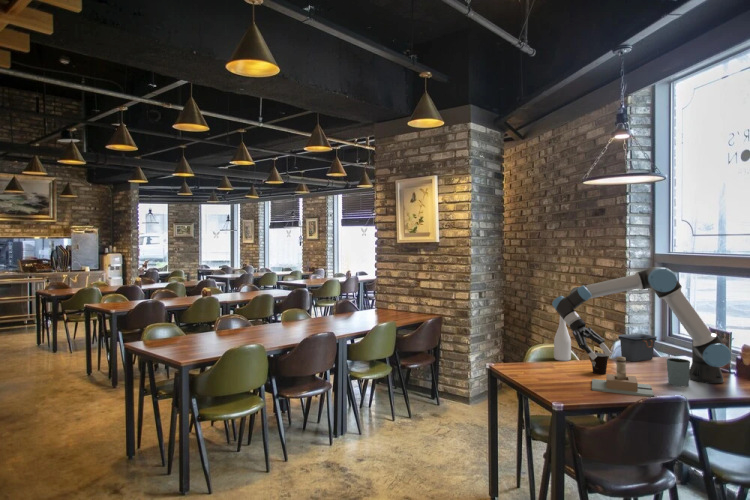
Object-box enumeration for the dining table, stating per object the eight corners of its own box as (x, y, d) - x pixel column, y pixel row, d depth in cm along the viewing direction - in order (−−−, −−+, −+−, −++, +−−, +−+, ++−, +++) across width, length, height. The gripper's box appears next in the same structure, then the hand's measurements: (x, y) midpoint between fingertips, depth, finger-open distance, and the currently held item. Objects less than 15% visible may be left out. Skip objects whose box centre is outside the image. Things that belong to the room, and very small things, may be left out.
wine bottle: (571, 361, 294) (571, 311, 293) (554, 360, 297) (554, 310, 296) (570, 358, 303) (570, 309, 302) (553, 357, 306) (554, 308, 305)
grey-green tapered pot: (678, 387, 240) (678, 363, 240) (661, 382, 250) (661, 358, 250) (695, 386, 243) (695, 361, 243) (677, 380, 253) (677, 357, 253)
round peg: (625, 385, 240) (625, 356, 240) (626, 387, 236) (626, 358, 236) (616, 384, 242) (616, 356, 242) (616, 387, 238) (616, 358, 238)
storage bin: (640, 355, 310) (640, 332, 310) (663, 361, 296) (663, 337, 295) (614, 358, 302) (615, 335, 302) (636, 364, 288) (636, 339, 288)
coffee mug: (610, 375, 263) (610, 356, 263) (592, 374, 265) (592, 355, 265) (604, 369, 274) (604, 351, 274) (587, 369, 276) (587, 351, 276)
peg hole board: (650, 386, 242) (650, 376, 242) (654, 397, 226) (654, 386, 225) (592, 380, 253) (592, 371, 253) (591, 390, 236) (591, 379, 236)
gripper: (583, 324, 268) (610, 357, 256) (556, 329, 254) (583, 364, 242) (593, 315, 264) (620, 348, 252) (565, 320, 249) (593, 355, 237)
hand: (602, 356), depth 247 cm, fingers open, 13 cm apart
